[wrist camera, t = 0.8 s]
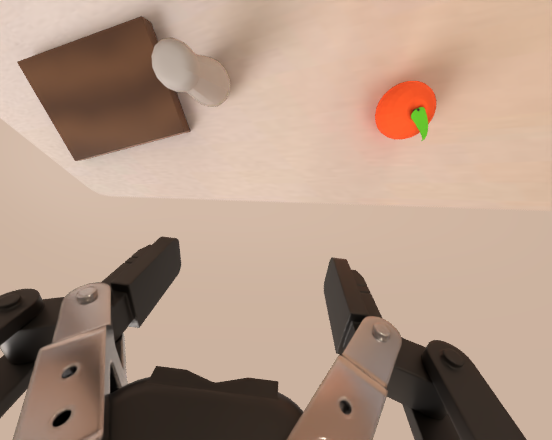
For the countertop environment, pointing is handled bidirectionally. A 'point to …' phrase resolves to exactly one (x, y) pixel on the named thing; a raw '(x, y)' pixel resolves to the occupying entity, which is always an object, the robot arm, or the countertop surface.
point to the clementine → (406, 110)
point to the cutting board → (106, 91)
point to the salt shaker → (190, 72)
